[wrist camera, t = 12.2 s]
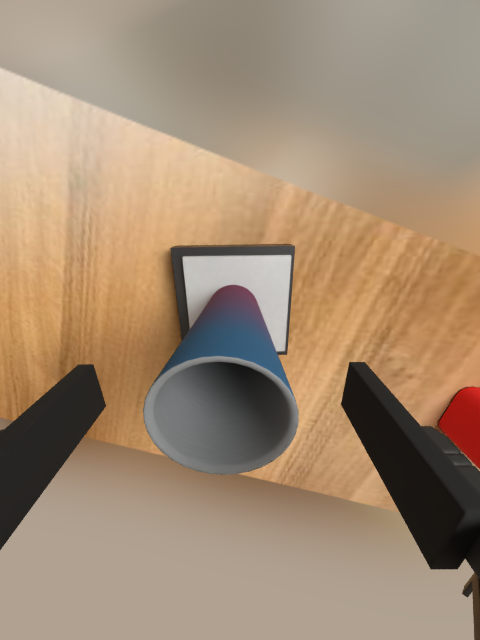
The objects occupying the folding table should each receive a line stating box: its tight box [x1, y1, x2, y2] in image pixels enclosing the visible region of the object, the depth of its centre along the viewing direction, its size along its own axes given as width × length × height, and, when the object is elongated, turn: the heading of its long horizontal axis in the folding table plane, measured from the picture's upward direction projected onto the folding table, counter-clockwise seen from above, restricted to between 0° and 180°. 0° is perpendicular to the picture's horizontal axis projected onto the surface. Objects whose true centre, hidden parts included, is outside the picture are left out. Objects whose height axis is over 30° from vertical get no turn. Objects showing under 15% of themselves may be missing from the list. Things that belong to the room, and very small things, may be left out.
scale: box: [171, 244, 295, 355], centre depth 25 cm, size 12×12×3 cm
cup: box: [143, 285, 298, 475], centre depth 17 cm, size 7×7×15 cm
